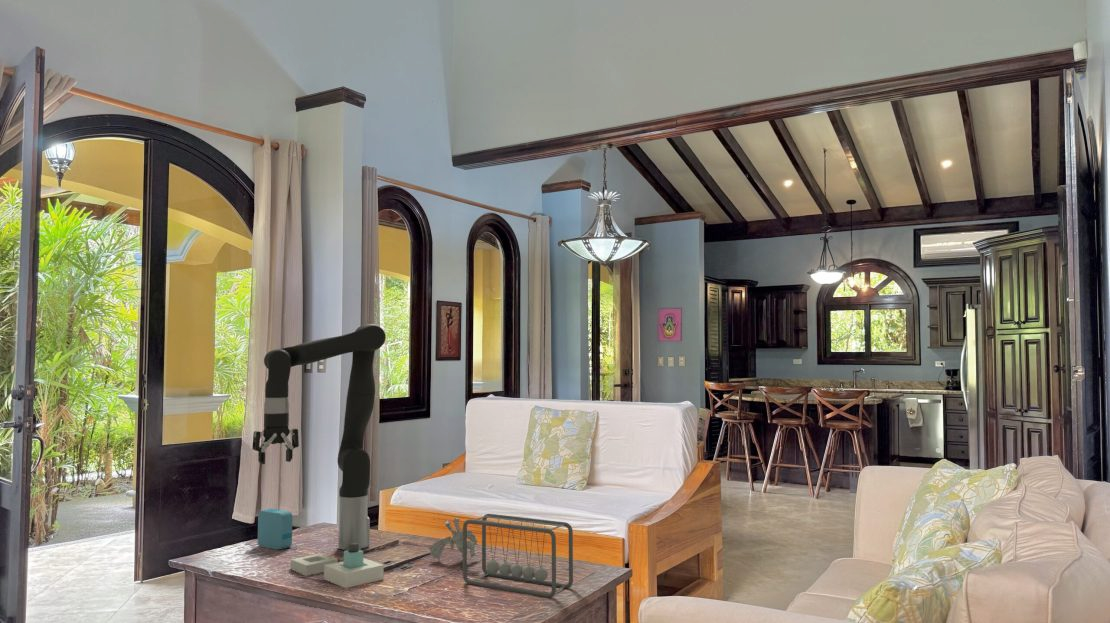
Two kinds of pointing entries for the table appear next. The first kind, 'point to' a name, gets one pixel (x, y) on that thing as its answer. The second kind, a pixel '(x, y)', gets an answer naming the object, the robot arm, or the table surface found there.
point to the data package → (275, 528)
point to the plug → (353, 556)
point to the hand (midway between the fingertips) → (275, 462)
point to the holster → (312, 563)
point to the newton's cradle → (517, 568)
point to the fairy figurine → (454, 541)
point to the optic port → (353, 573)
